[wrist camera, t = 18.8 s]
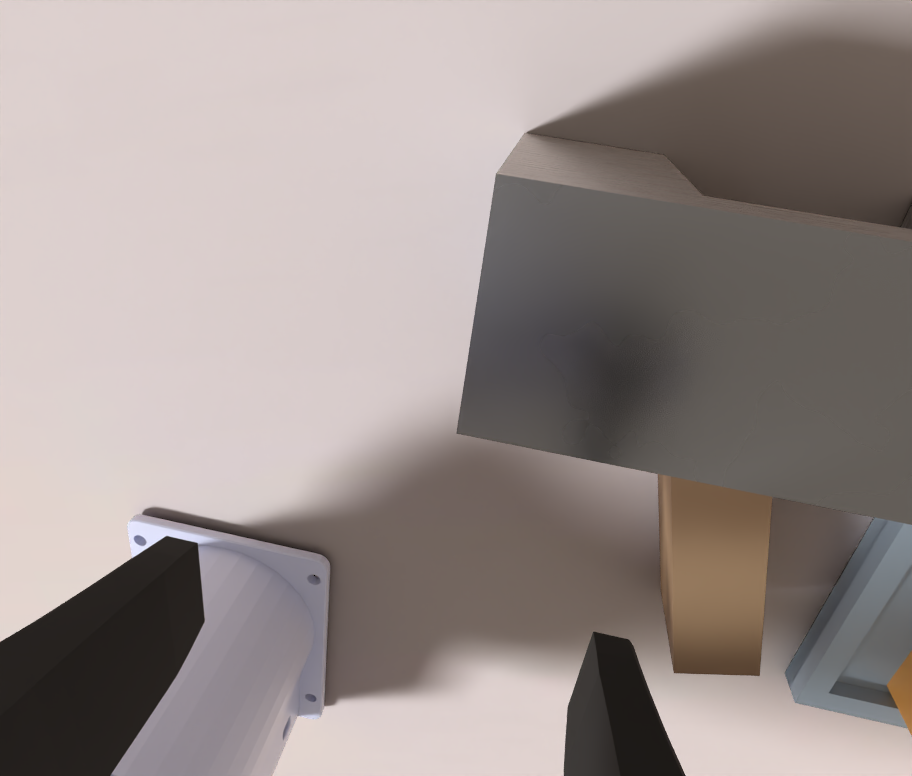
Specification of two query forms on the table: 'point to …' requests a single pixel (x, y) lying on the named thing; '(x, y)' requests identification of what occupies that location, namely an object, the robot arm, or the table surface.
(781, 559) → the table surface
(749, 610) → the push rod
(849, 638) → the tray
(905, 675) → the orange cube
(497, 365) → the grey bridge block
